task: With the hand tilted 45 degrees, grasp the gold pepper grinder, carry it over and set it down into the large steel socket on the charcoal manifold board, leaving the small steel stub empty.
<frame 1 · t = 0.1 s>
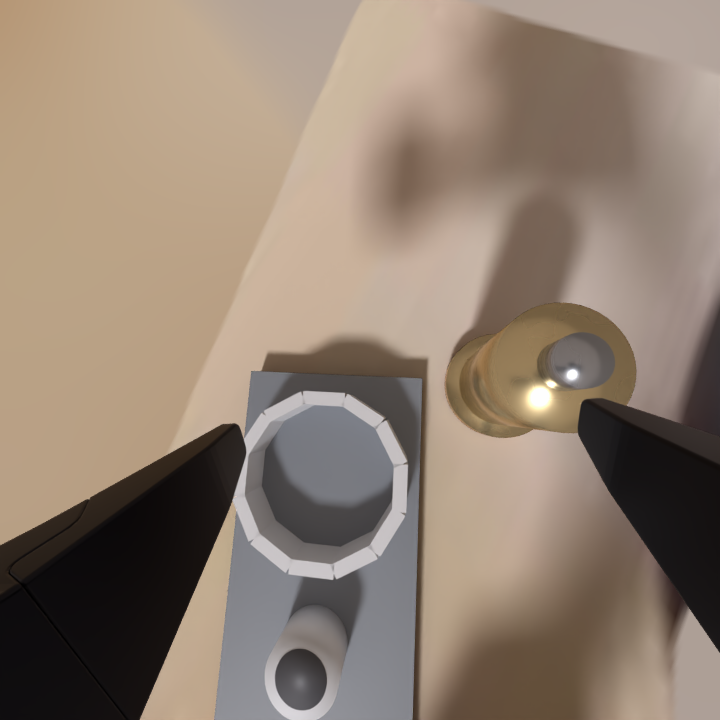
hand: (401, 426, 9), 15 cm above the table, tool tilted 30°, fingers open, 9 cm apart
manifold board: (326, 544, 23), on the table
gold pepper grinder: (495, 386, 23), on the table
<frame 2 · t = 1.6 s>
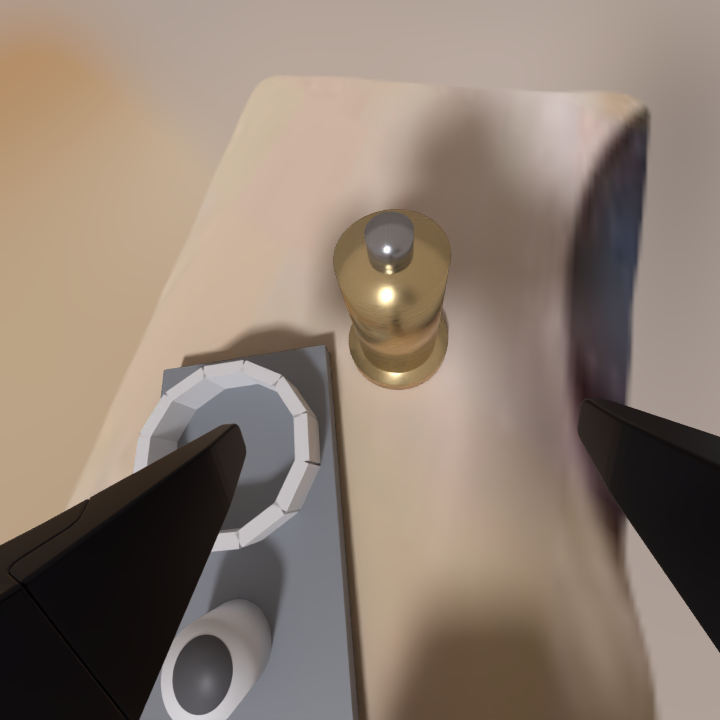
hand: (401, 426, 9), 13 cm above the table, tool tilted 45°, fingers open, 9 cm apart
manifold board: (249, 535, 21), on the table
gold pepper grinder: (397, 344, 24), on the table
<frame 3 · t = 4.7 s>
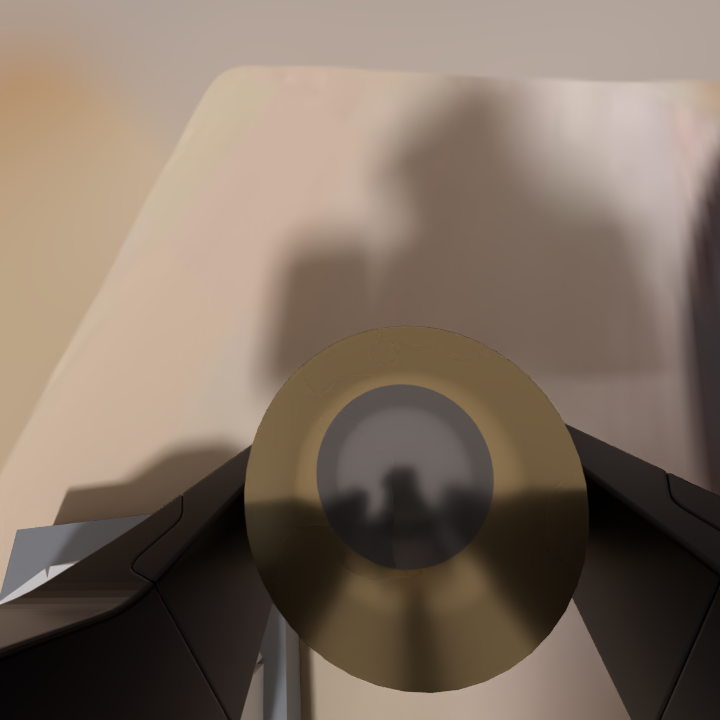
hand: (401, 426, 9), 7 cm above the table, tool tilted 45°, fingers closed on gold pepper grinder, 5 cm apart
gold pepper grinder: (407, 487, 14), on the table, touching gripper
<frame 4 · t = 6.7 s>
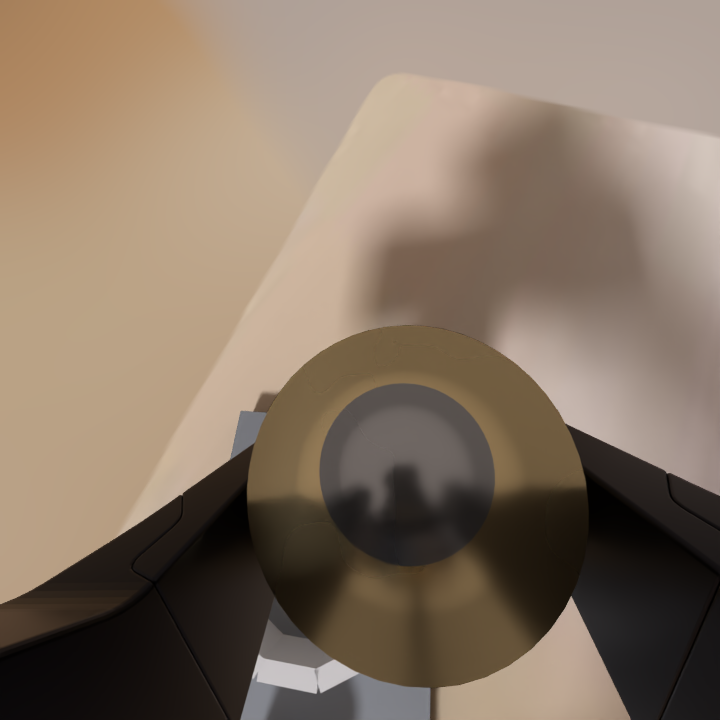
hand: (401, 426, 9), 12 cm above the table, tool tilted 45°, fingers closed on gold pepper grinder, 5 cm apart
manifold board: (312, 639, 18), on the table
gold pepper grinder: (408, 485, 14), point 6 cm above the table, touching gripper
when the fingers open (9 cm above the table, at t = 8.8 s): gold pepper grinder stays where it is, resting on manifold board.
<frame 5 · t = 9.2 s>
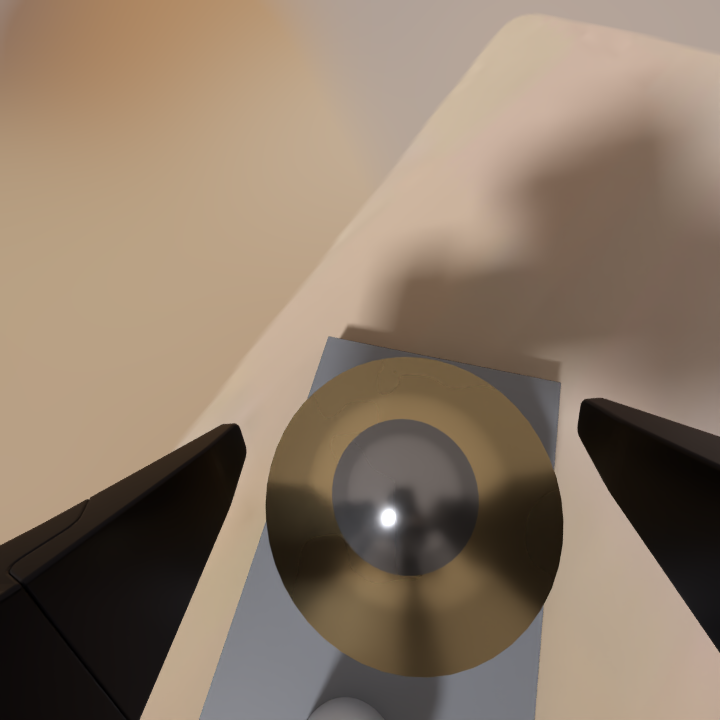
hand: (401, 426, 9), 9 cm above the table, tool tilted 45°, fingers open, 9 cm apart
manifold board: (383, 600, 15), on the table
gold pepper grinder: (408, 491, 15), point 2 cm above the table, touching manifold board
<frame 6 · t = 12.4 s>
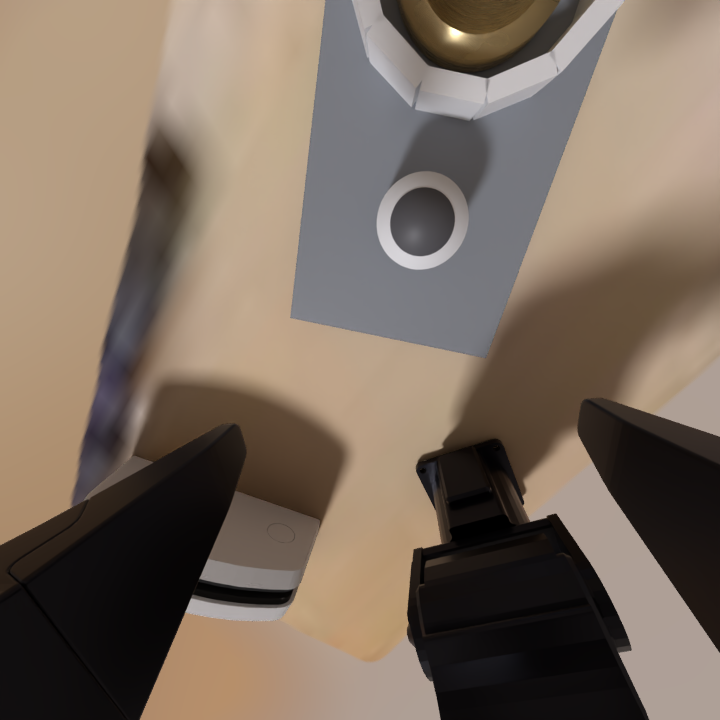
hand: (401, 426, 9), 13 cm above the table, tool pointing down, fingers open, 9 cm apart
manifold board: (438, 117, 17), on the table
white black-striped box: (228, 494, 29), on the table
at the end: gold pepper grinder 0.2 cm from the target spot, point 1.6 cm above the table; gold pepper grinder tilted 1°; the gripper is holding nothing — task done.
